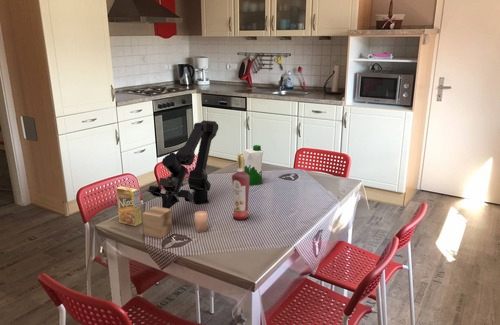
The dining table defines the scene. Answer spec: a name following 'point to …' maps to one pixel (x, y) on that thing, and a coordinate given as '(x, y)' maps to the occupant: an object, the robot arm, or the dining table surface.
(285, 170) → the dining table surface
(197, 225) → the peach rounded cylinder
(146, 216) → the light wooden block
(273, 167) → the dining table surface
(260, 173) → the milk carton
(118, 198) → the yellow cereal box
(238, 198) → the liquor
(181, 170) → the robot arm
